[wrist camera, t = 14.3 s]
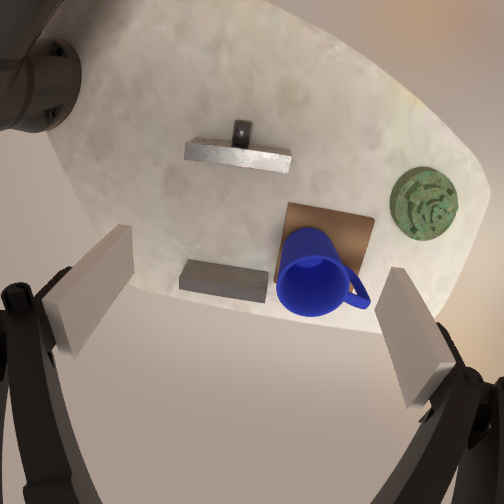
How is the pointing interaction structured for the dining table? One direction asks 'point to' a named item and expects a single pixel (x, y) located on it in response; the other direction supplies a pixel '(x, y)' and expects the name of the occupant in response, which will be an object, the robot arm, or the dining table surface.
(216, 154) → the vise jaws
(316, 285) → the mug
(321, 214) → the walnut board
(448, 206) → the decorative artifact
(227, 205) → the dining table surface
